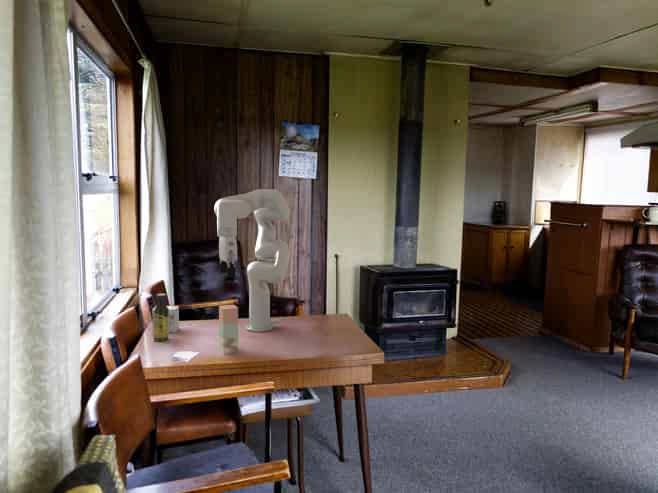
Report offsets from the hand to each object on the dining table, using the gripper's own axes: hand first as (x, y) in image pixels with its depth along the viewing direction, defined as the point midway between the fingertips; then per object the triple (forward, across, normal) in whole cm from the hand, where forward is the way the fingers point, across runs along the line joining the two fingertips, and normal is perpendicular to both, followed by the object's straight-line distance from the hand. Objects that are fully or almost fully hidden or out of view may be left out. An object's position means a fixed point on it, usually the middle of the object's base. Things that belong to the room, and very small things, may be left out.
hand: (227, 275), depth 196 cm
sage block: (+24, -2, 0) cm, 25 cm away
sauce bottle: (+31, +24, +22) cm, 45 cm away
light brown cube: (+18, -2, 0) cm, 19 cm away
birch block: (+31, -2, 0) cm, 31 cm away
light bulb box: (+31, +38, +18) cm, 53 cm away
